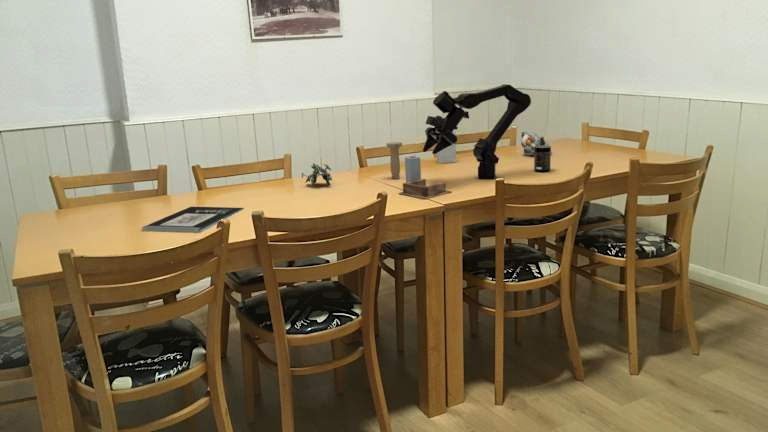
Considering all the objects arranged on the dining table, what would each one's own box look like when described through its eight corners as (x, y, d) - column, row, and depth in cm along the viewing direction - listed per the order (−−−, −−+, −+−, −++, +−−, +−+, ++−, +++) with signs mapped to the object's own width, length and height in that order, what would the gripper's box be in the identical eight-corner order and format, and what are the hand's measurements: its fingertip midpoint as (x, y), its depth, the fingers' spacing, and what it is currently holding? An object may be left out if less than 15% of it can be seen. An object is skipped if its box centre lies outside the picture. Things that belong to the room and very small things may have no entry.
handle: (404, 178, 267) (403, 143, 263) (390, 180, 265) (389, 144, 261) (400, 176, 272) (399, 141, 268) (386, 178, 270) (385, 143, 266)
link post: (416, 185, 252) (415, 155, 249) (421, 188, 248) (420, 156, 245) (405, 187, 250) (404, 156, 247) (410, 189, 246) (409, 158, 243)
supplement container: (552, 170, 270) (553, 145, 267) (547, 173, 264) (547, 148, 262) (537, 169, 273) (537, 145, 271) (531, 172, 268) (531, 147, 265)
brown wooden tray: (425, 187, 248) (424, 177, 247) (451, 192, 238) (451, 182, 237) (398, 194, 239) (398, 183, 238) (424, 199, 229) (424, 188, 228)
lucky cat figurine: (555, 156, 301) (547, 132, 294) (532, 167, 302) (523, 143, 295) (544, 142, 314) (536, 119, 306) (521, 153, 315) (513, 130, 308)
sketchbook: (244, 211, 228) (243, 205, 227) (199, 235, 200) (198, 229, 199) (191, 209, 233) (190, 204, 233) (140, 232, 206) (139, 226, 205)
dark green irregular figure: (328, 197, 264) (339, 176, 256) (305, 197, 257) (315, 175, 250) (319, 179, 270) (329, 157, 263) (296, 178, 264) (306, 156, 257)
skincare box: (452, 160, 303) (451, 129, 299) (456, 162, 297) (456, 130, 294) (435, 162, 301) (434, 130, 298) (439, 164, 296) (438, 132, 292)
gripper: (427, 107, 255) (404, 138, 254) (447, 108, 238) (422, 142, 237) (447, 124, 259) (424, 154, 258) (467, 127, 242) (443, 159, 241)
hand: (428, 152), depth 248 cm, fingers open, 9 cm apart
